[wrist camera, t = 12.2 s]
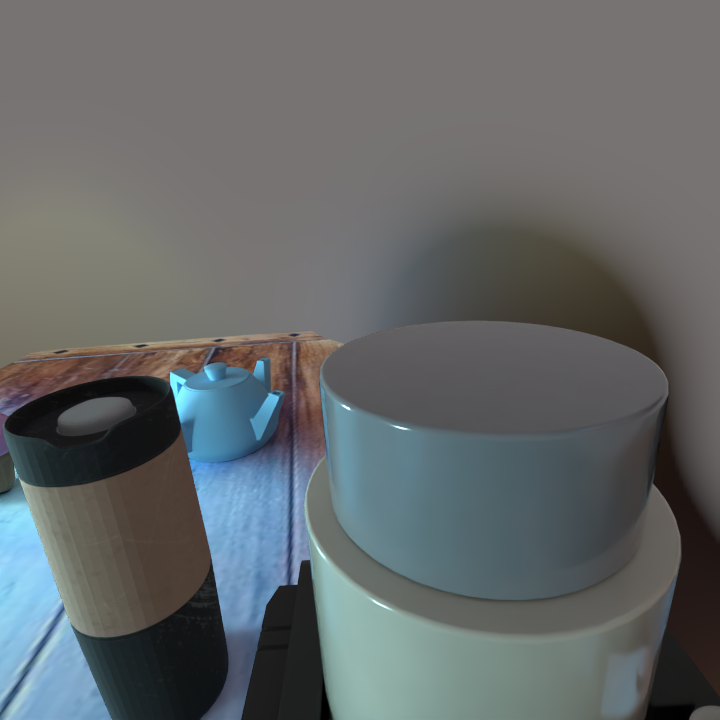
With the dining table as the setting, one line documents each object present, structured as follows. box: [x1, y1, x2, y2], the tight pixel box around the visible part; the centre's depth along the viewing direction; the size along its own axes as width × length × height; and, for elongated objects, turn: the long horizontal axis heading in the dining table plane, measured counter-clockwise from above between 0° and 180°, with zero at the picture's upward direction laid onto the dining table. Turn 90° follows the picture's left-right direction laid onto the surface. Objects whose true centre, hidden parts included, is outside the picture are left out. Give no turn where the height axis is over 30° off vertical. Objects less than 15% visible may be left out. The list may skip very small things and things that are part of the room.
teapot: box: [171, 358, 285, 462], centre depth 58 cm, size 15×15×11 cm
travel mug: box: [3, 376, 228, 720], centre depth 25 cm, size 8×8×20 cm
